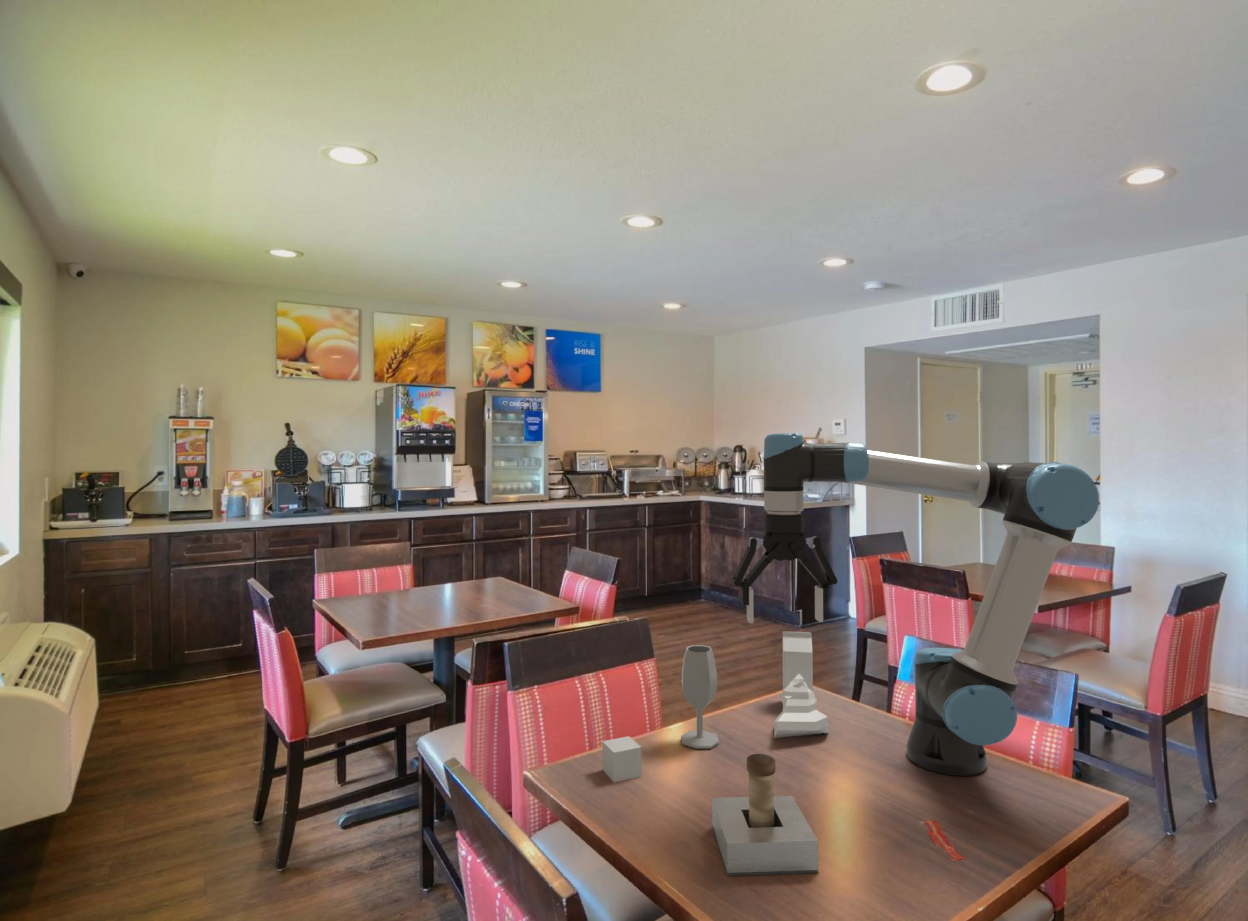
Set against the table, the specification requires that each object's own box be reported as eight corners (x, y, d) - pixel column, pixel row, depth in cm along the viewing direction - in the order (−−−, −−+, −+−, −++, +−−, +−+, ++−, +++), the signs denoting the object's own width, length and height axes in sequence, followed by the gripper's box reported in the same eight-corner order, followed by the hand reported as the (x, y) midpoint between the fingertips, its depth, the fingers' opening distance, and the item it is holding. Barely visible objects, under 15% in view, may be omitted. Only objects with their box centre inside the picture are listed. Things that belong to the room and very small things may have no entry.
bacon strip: (946, 863, 108) (946, 858, 108) (909, 813, 123) (909, 810, 123) (971, 863, 108) (971, 858, 108) (931, 813, 123) (931, 810, 123)
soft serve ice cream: (756, 734, 162) (755, 671, 165) (815, 734, 164) (813, 672, 168) (778, 742, 150) (776, 674, 153) (841, 742, 152) (838, 675, 156)
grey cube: (602, 770, 141) (602, 741, 141) (629, 764, 143) (628, 736, 143) (614, 783, 135) (613, 752, 135) (641, 776, 138) (641, 746, 138)
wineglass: (676, 747, 151) (675, 652, 151) (685, 732, 160) (684, 641, 159) (715, 752, 148) (714, 655, 148) (722, 736, 157) (722, 644, 157)
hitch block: (792, 824, 119) (792, 795, 119) (818, 873, 105) (817, 840, 105) (712, 826, 119) (712, 797, 119) (727, 876, 105) (727, 843, 105)
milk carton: (813, 712, 171) (812, 636, 171) (783, 710, 172) (783, 635, 172) (811, 702, 178) (810, 629, 178) (782, 700, 179) (782, 628, 179)
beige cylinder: (772, 836, 115) (771, 753, 115) (779, 852, 110) (778, 765, 110) (744, 837, 114) (743, 754, 114) (751, 853, 110) (750, 766, 110)
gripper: (840, 510, 138) (840, 615, 139) (717, 511, 137) (717, 617, 138) (853, 513, 131) (854, 624, 131) (723, 514, 130) (724, 626, 130)
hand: (784, 621), depth 134 cm, fingers open, 13 cm apart
